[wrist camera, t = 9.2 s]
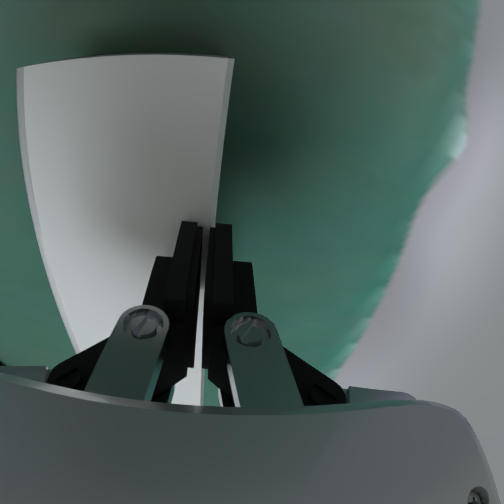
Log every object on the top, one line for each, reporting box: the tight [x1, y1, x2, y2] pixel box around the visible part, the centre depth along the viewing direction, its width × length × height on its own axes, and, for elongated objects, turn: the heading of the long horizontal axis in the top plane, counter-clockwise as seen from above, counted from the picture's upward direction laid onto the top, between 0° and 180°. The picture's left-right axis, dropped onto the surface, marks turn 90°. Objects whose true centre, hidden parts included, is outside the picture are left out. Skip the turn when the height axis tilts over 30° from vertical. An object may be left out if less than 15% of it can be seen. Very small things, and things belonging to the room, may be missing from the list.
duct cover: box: [17, 54, 235, 406], centre depth 15 cm, size 24×9×1 cm, turn 172°
